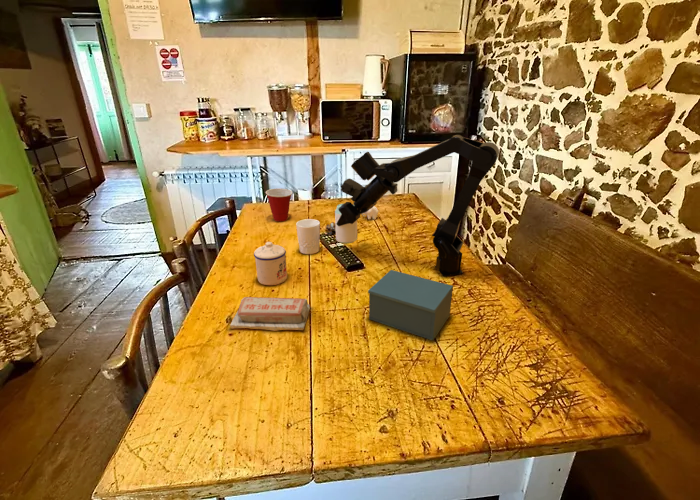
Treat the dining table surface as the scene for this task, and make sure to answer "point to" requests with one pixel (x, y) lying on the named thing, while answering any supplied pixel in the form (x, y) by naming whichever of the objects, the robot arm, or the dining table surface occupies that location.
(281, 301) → the packaged product
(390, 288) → the lid
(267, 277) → the teacup with lid
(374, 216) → the elephant figurine
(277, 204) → the plastic cup
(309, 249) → the white cup
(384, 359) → the dining table surface
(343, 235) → the can
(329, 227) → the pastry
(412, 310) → the box
